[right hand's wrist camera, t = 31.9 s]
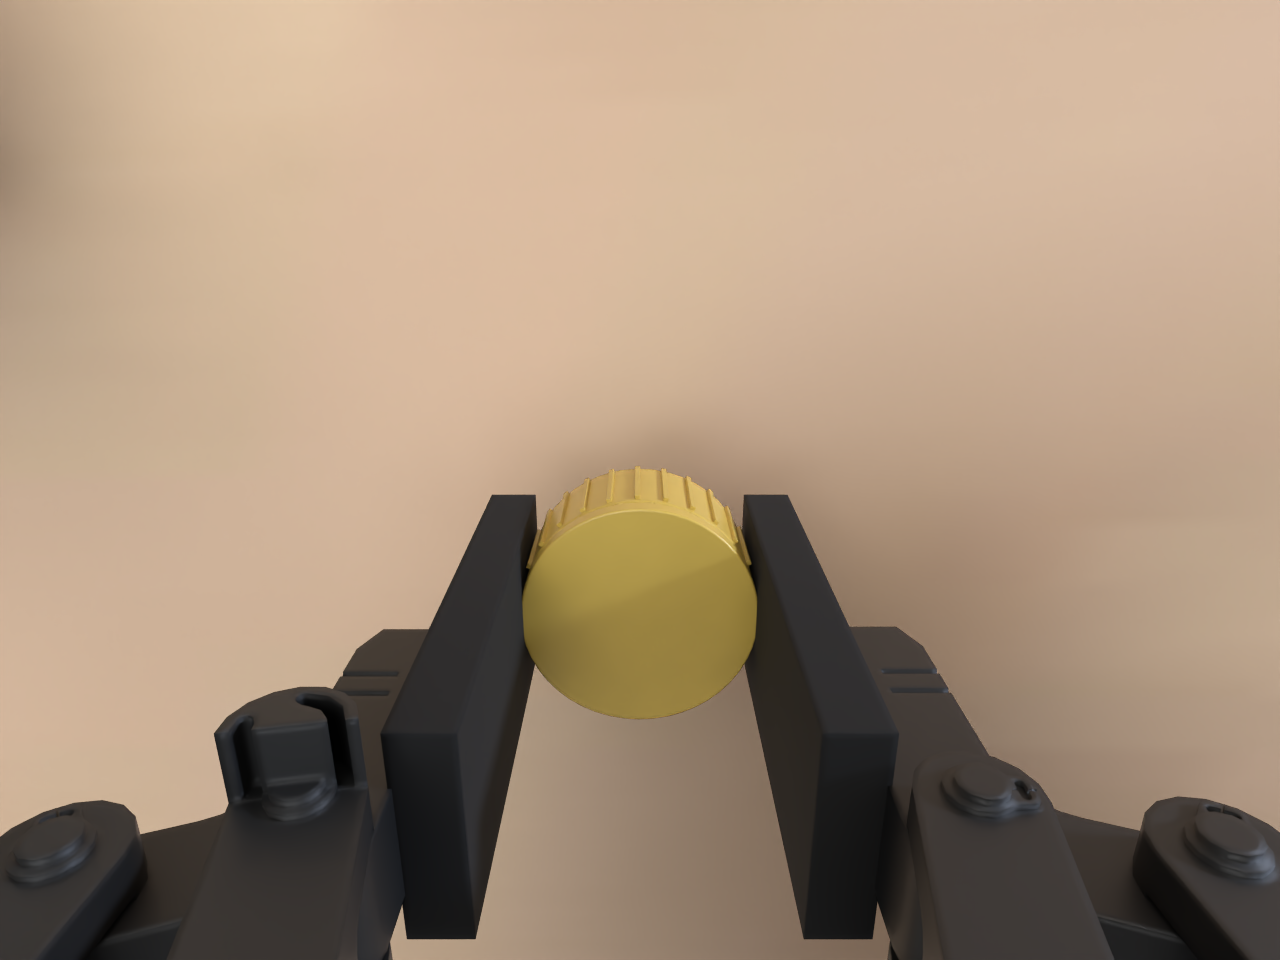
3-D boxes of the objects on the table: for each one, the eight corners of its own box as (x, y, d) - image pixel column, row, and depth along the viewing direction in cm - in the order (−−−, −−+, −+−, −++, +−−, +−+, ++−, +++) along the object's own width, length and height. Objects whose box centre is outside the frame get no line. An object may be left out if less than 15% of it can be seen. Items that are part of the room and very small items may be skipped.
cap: (776, 496, 14) (797, 541, 12) (711, 680, 15) (720, 745, 13) (561, 439, 14) (548, 477, 12) (510, 632, 15) (493, 692, 13)
